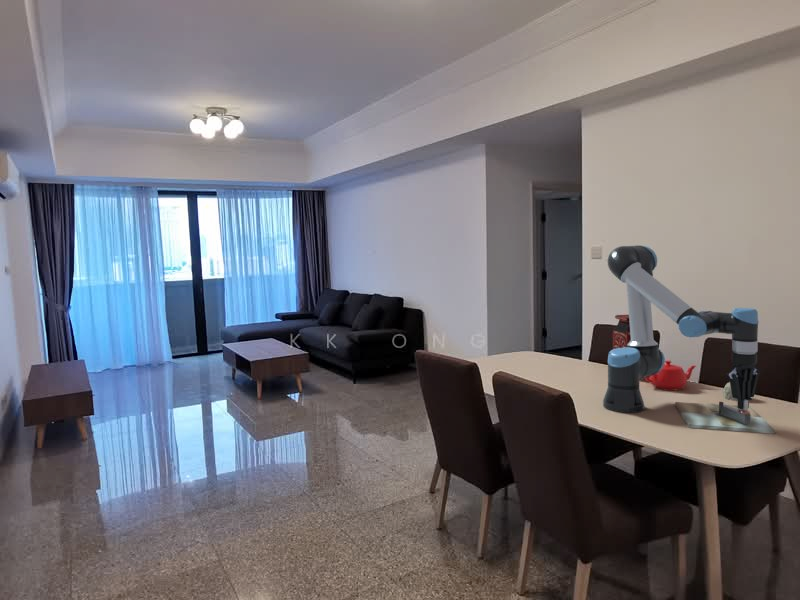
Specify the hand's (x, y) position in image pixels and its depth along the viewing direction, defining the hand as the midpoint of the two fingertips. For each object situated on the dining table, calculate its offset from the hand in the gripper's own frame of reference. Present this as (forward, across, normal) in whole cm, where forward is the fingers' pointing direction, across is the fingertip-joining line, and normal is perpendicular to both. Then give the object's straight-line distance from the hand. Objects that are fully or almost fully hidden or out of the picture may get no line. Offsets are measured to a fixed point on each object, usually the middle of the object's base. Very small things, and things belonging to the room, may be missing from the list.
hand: (742, 417), depth 187 cm
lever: (+1, +2, -1) cm, 2 cm away
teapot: (+4, -15, -50) cm, 52 cm away
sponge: (+4, -26, -26) cm, 37 cm away
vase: (+4, -15, -74) cm, 76 cm away
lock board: (+3, +1, -8) cm, 9 cm away
